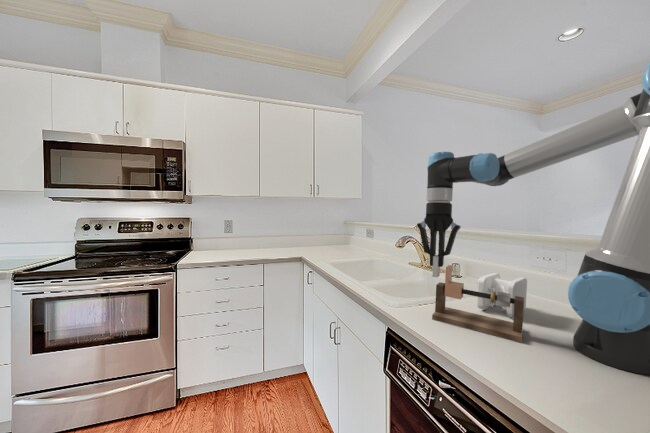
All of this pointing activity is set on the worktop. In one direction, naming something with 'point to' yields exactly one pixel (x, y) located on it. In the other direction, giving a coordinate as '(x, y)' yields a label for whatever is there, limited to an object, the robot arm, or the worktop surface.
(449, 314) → the brown rod stand
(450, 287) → the tan wooden l-shaped block
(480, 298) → the cable organizer
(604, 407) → the worktop surface
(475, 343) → the worktop surface
